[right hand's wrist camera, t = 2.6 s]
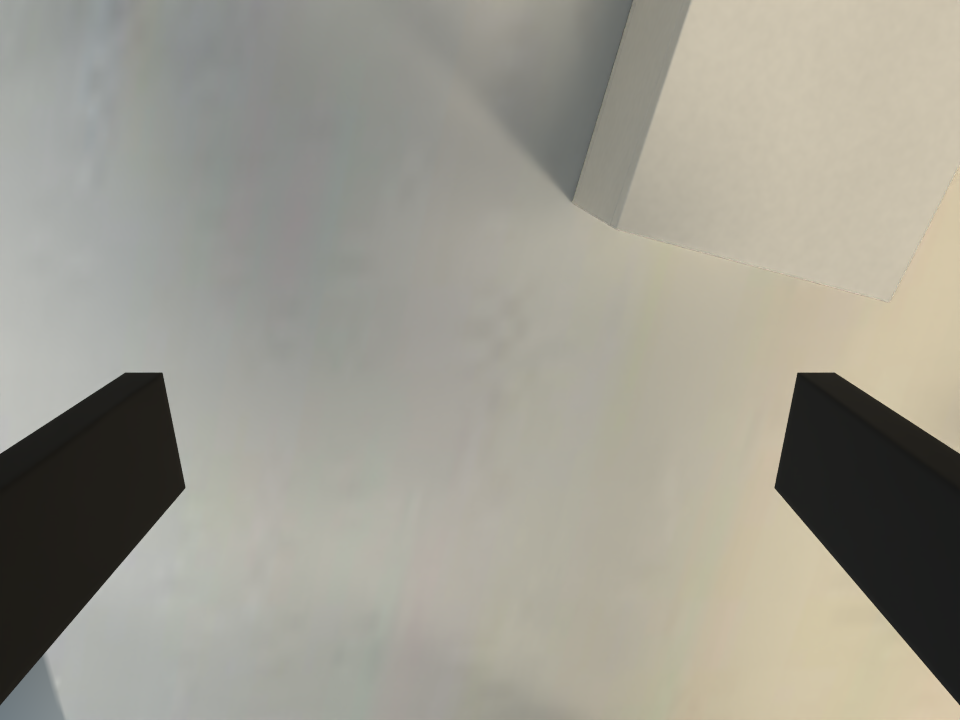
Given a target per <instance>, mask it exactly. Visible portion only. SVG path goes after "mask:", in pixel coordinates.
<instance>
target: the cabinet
mask: <svg viewBox="0 0 960 720" xmlns="http://www.w3.org/2000/svg"><path fill="white" fill-rule="evenodd" d="M959 166H960V0H633V3H632V6H631V9H630V13H629V16H628V19H627V23H626V26H625V29H624V32H623V36H622V39H621V42H620V46H619V49H618V52H617V56H616V59H615V62H614V66H613V69H612V72H611V75H610V79H609V82H608V85H607V89H606V92H605V95H604V99H603V102H602V105H601V109H600V112H599V115H598V119H597V122H596V125H595V128H594V132H593V135H592V138H591V142H590V145H589V148H588V152H587V155H586V158H585V162H584V165H583V168H582V171H581V175H580V178H579V181H578V185H577V188H576V191H575V195H574V198H573V201H572V203H573V204H574V205H576V206H578V207H580V208H581V209H583V210H585V211H586V212H588V213H589V214H591V215H593V216H594V217H596V218H598V219H599V220H601V221H603V222H604V223H606V224H608V225H609V226H611V227H613V228H615V229H616V230H620V231H623V232H627V233H631V234H635V235H638V236H642V237H646V238H649V239H653V240H657V241H661V242H664V243H668V244H672V245H676V246H679V247H683V248H687V249H690V250H694V251H698V252H702V253H705V254H709V255H713V256H717V257H720V258H724V259H728V260H731V261H735V262H739V263H743V264H746V265H750V266H754V267H758V268H761V269H765V270H769V271H772V272H776V273H780V274H784V275H787V276H791V277H795V278H799V279H802V280H806V281H810V282H814V283H817V284H821V285H825V286H828V287H832V288H836V289H840V290H843V291H847V292H851V293H855V294H858V295H862V296H866V297H869V298H873V299H877V300H881V301H884V302H890V301H891V300H892V298H893V296H894V294H895V292H896V290H897V288H898V286H899V284H900V282H901V280H902V278H903V276H904V274H905V272H906V270H907V268H908V266H909V264H910V262H911V260H912V258H913V256H914V254H915V252H916V250H917V248H918V246H919V244H920V243H921V241H922V239H923V237H924V235H925V233H926V231H927V229H928V227H929V225H930V223H931V221H932V219H933V217H934V215H935V213H936V211H937V209H938V207H939V205H940V203H941V201H942V199H943V197H944V195H945V193H946V191H947V189H948V187H949V185H950V183H951V181H952V180H953V178H954V176H955V174H956V172H957V170H958V168H959Z"/></svg>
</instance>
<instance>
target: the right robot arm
mask: <svg viewBox="0 0 960 720" xmlns="http://www.w3.org/2000/svg"><path fill="white" fill-rule="evenodd" d="M184 489H185V483H184V478H183V473H182V468H181V463H180V458H179V453H178V448H177V443H176V438H175V433H174V428H173V423H172V418H171V413H170V408H169V403H168V398H167V393H166V388H165V383H164V378H163V373H124V374H123V375H121V376H120V377H118V378H116V379H115V380H113V381H112V382H110V383H109V384H107V385H106V386H104V387H103V388H101V389H100V390H98V391H96V392H95V393H93V394H92V395H90V396H89V397H87V398H86V399H84V400H83V401H81V402H79V403H78V404H76V405H75V406H73V407H72V408H70V409H69V410H67V411H66V412H64V413H63V414H61V415H59V416H58V417H56V418H55V419H53V420H52V421H50V422H49V423H47V424H46V425H44V426H43V427H41V428H39V429H38V430H36V431H35V432H33V433H32V434H30V435H29V436H27V437H26V438H24V439H22V440H21V441H19V442H18V443H16V444H15V445H13V446H12V447H10V448H9V449H7V450H6V451H4V452H2V453H1V454H0V705H1V704H2V702H3V701H4V700H5V699H6V698H7V697H8V695H9V694H10V693H11V692H12V691H13V690H14V688H15V687H16V686H17V685H18V684H19V682H20V681H21V680H22V679H23V678H24V677H25V675H26V674H27V673H28V672H29V671H30V670H31V668H32V667H33V666H34V665H35V664H36V663H37V661H38V660H39V659H40V658H41V657H42V656H43V654H44V653H45V652H46V651H47V650H48V649H49V647H50V646H51V645H52V644H53V643H54V641H55V640H56V639H57V638H58V637H59V636H60V634H61V633H62V632H63V631H64V630H65V629H66V627H67V626H68V625H69V624H70V623H71V622H72V620H73V619H74V618H75V617H76V616H77V615H78V613H79V612H80V611H81V610H82V609H83V607H84V606H85V605H86V604H87V603H88V602H89V600H90V599H91V598H92V597H93V596H94V595H95V593H96V592H97V591H98V590H99V589H100V588H101V586H102V585H103V584H104V583H105V582H106V581H107V579H108V578H109V577H110V576H111V575H112V573H113V572H114V571H115V570H116V569H117V568H118V566H119V565H120V564H121V563H122V562H123V561H124V559H125V558H126V557H127V556H128V555H129V554H130V552H131V551H132V550H133V549H134V548H135V546H136V545H137V544H138V543H139V542H140V541H141V539H142V538H143V537H144V536H145V535H146V534H147V532H148V531H149V530H150V529H151V528H152V527H153V525H154V524H155V523H156V522H157V521H158V520H159V518H160V517H161V516H162V515H163V514H164V512H165V511H166V510H167V509H168V508H169V507H170V505H171V504H172V503H173V502H174V501H175V500H176V498H177V497H178V496H179V495H180V494H181V493H182V491H183V490H184ZM775 489H776V490H777V491H778V493H779V494H780V495H781V496H782V497H783V498H784V500H785V501H786V502H787V503H788V504H789V505H790V507H791V508H792V509H793V510H794V511H795V512H796V514H797V515H798V516H799V517H800V518H801V520H802V521H803V522H804V523H805V524H806V525H807V527H808V528H809V529H810V530H811V531H812V532H813V534H814V535H815V536H816V537H817V538H818V539H819V541H820V542H821V543H822V544H823V545H824V546H825V548H826V549H827V550H828V551H829V552H830V554H831V555H832V556H833V557H834V558H835V559H836V561H837V562H838V563H839V564H840V565H841V566H842V568H843V569H844V570H845V571H846V572H847V573H848V575H849V576H850V577H851V578H852V579H853V581H854V582H855V583H856V584H857V585H858V586H859V588H860V589H861V590H862V591H863V592H864V593H865V595H866V596H867V597H868V598H869V599H870V600H871V602H872V603H873V604H874V605H875V606H876V607H877V609H878V610H879V611H880V612H881V613H882V615H883V616H884V617H885V618H886V619H887V620H888V622H889V623H890V624H891V625H892V626H893V627H894V629H895V630H896V631H897V632H898V633H899V634H900V636H901V637H902V638H903V639H904V640H905V641H906V643H907V644H908V645H909V646H910V647H911V649H912V650H913V651H914V652H915V653H916V654H917V656H918V657H919V658H920V659H921V660H922V661H923V663H924V664H925V665H926V666H927V667H928V668H929V670H930V671H931V672H932V673H933V674H934V675H935V677H936V678H937V679H938V680H939V681H940V683H941V684H942V685H943V686H944V687H945V688H946V690H947V691H948V692H949V693H950V694H951V695H952V697H953V698H954V699H955V700H956V701H957V702H958V704H959V705H960V454H959V453H958V452H956V451H954V450H953V449H951V448H950V447H948V446H947V445H945V444H944V443H942V442H941V441H939V440H938V439H936V438H934V437H933V436H931V435H930V434H928V433H927V432H925V431H924V430H922V429H921V428H919V427H917V426H916V425H914V424H913V423H911V422H910V421H908V420H907V419H905V418H904V417H902V416H901V415H899V414H897V413H896V412H894V411H893V410H891V409H890V408H888V407H887V406H885V405H884V404H882V403H881V402H879V401H877V400H876V399H874V398H873V397H871V396H870V395H868V394H867V393H865V392H864V391H862V390H860V389H859V388H857V387H856V386H854V385H853V384H851V383H850V382H848V381H847V380H845V379H844V378H842V377H840V376H839V375H837V374H836V373H797V378H796V383H795V388H794V393H793V398H792V403H791V408H790V413H789V418H788V423H787V428H786V433H785V438H784V443H783V448H782V453H781V458H780V463H779V468H778V473H777V478H776V483H775Z"/></svg>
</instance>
